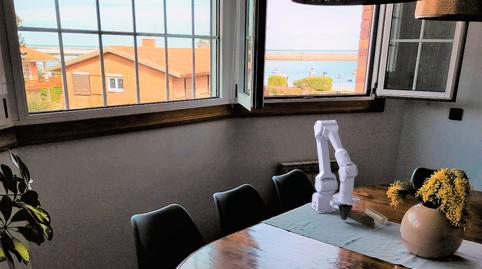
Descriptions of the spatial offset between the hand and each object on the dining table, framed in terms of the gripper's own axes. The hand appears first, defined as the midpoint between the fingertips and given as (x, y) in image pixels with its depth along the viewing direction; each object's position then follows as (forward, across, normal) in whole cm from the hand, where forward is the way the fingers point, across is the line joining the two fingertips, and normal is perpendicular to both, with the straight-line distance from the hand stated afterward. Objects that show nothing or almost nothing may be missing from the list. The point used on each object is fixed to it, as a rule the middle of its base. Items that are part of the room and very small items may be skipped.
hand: (343, 219), depth 162 cm
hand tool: (+2, +8, 0) cm, 8 cm away
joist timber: (+1, +17, 0) cm, 17 cm away
